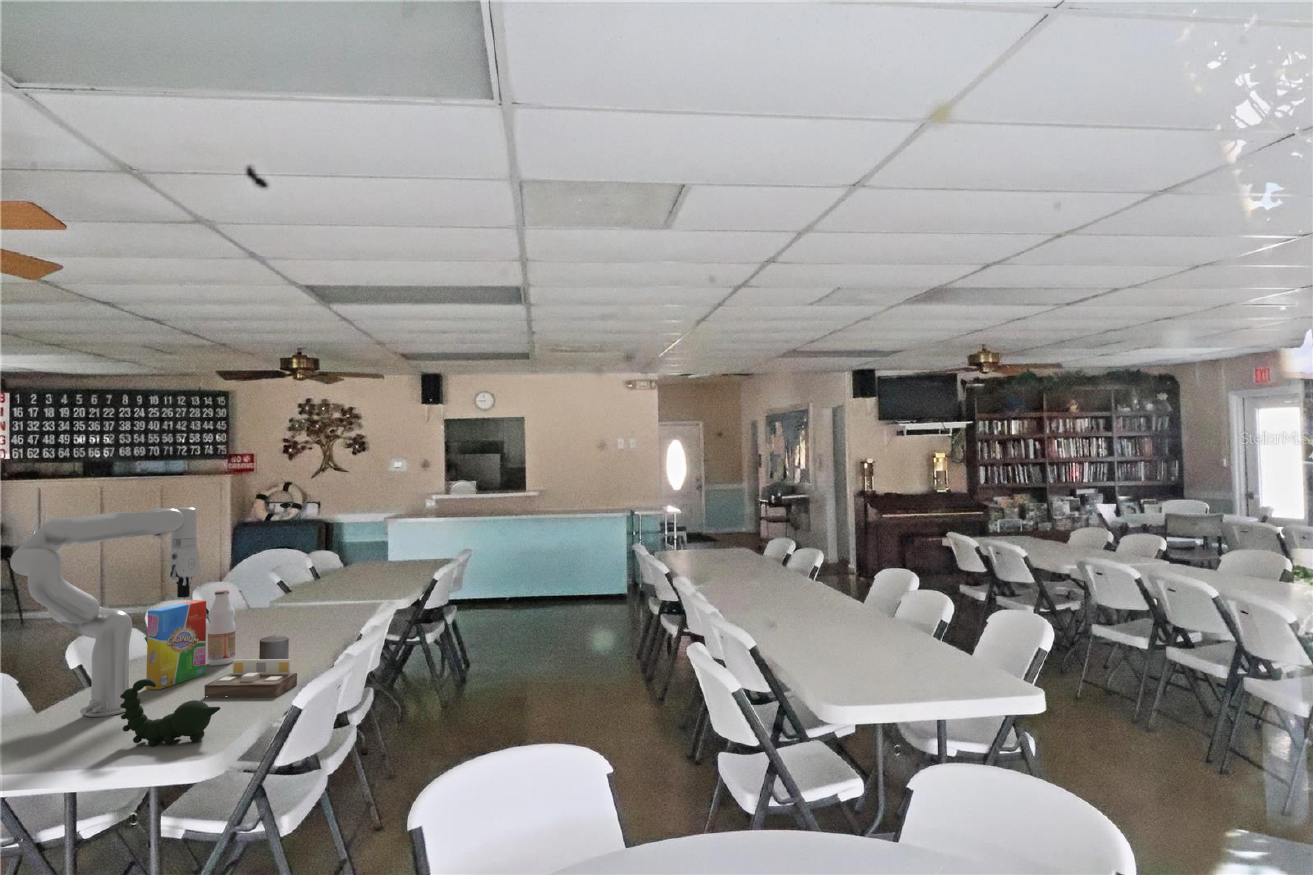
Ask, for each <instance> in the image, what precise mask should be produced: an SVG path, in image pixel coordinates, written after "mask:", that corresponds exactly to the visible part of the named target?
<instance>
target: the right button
mask: <svg viewBox="0 0 1313 875" xmlns="http://www.w3.org/2000/svg"><path fill="white" fill-rule="evenodd" d="M281 679H283V676H271V677H269V678H267V679H265V682H277V681H279V680H281Z"/></svg>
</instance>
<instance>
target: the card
mask: <svg viewBox="0 0 1313 875" xmlns="http://www.w3.org/2000/svg"><path fill="white" fill-rule="evenodd" d="M247 673H259V674H290V673H291V658H289V659H259V658H258V659H253V658H252V659H235V660H233V662H232V674H233V675H238V674H247Z"/></svg>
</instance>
